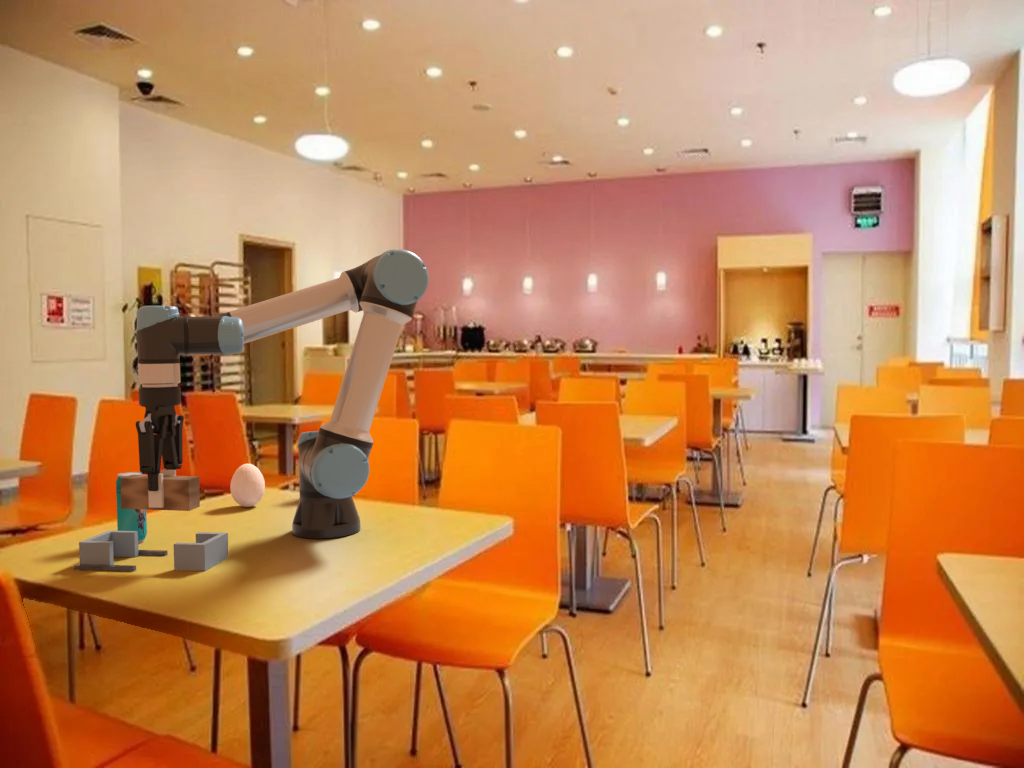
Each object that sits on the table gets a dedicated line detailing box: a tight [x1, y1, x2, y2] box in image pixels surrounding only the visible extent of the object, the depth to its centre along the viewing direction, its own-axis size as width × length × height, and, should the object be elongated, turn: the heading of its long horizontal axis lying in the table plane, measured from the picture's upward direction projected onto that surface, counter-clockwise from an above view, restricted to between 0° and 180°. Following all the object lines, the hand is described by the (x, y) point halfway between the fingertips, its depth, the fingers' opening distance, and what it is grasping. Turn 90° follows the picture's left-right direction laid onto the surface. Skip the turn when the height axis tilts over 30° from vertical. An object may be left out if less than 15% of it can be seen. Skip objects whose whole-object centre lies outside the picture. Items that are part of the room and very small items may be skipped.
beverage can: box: [115, 471, 148, 545], centre depth 175 cm, size 6×6×15 cm
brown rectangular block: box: [121, 474, 201, 512], centre depth 158 cm, size 14×4×6 cm, turn 83°
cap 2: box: [173, 531, 229, 572], centre depth 157 cm, size 6×10×5 cm, turn 174°
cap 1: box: [78, 530, 140, 565], centre depth 160 cm, size 6×10×5 cm, turn 174°
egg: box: [229, 463, 266, 508], centre depth 211 cm, size 9×9×11 cm
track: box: [73, 549, 168, 572], centre depth 159 cm, size 12×12×1 cm
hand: (163, 504), depth 158 cm, fingers closed on brown rectangular block, 4 cm apart
